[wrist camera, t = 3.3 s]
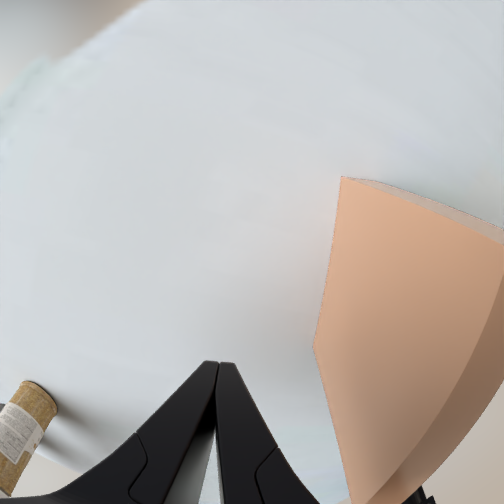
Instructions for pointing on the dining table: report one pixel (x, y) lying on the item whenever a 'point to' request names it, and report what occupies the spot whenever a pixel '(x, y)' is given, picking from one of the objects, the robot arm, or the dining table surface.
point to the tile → (407, 334)
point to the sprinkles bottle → (22, 431)
